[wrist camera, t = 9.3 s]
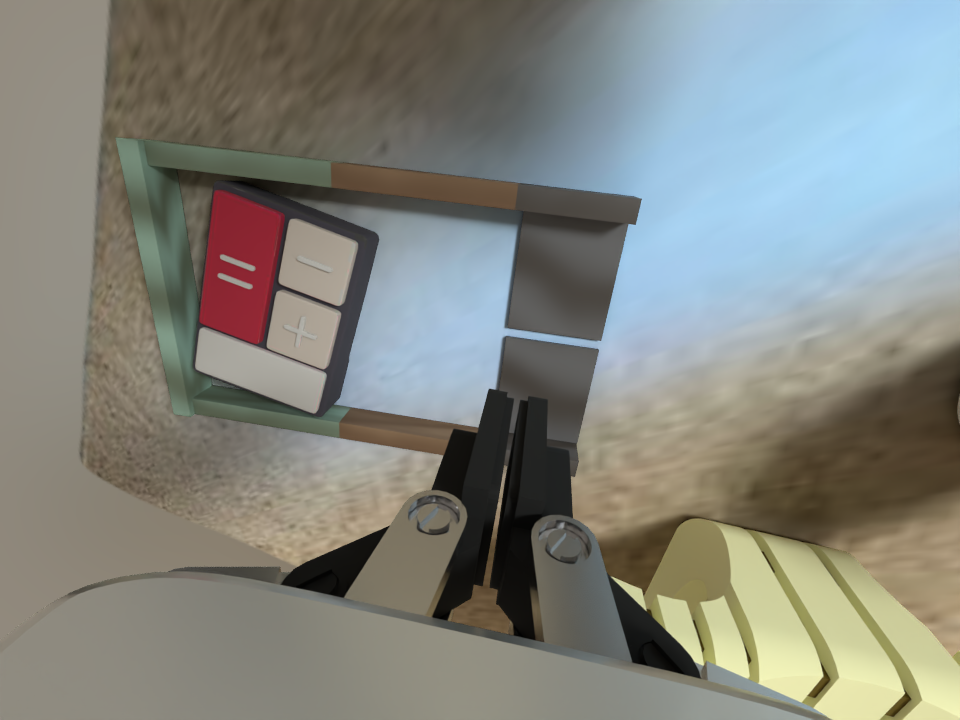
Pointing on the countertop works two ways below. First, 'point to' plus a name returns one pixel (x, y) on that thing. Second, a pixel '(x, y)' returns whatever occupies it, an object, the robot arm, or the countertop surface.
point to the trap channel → (547, 210)
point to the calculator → (280, 296)
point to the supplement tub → (959, 409)
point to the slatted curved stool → (799, 624)
